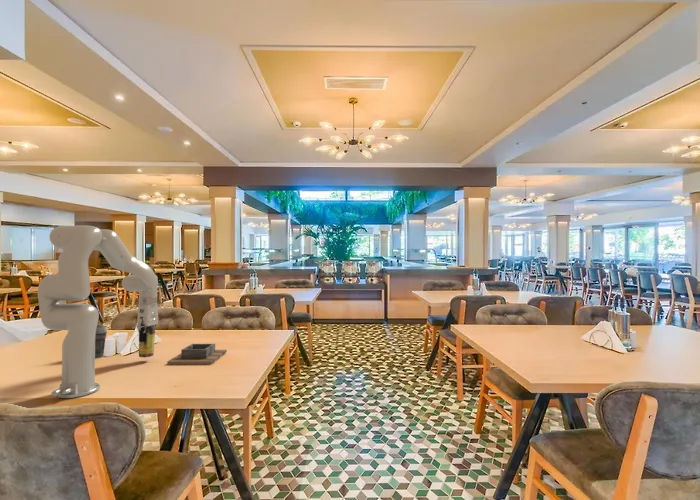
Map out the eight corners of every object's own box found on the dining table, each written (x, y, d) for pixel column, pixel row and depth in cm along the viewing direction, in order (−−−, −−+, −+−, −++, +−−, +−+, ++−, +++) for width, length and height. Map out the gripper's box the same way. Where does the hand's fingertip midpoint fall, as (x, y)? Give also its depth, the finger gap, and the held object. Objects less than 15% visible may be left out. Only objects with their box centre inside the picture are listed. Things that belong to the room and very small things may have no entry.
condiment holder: (212, 364, 161) (212, 352, 162) (167, 364, 161) (167, 352, 161) (226, 352, 181) (226, 341, 182) (186, 352, 181) (187, 341, 181)
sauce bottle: (135, 357, 165) (136, 313, 166) (148, 354, 170) (149, 312, 171) (144, 358, 162) (145, 314, 163) (157, 355, 167) (158, 312, 168)
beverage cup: (97, 359, 169) (97, 317, 170) (84, 358, 171) (84, 316, 171) (110, 355, 177) (110, 314, 177) (98, 354, 178) (98, 314, 178)
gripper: (145, 303, 159) (144, 344, 158) (165, 299, 176) (164, 336, 175) (128, 303, 159) (127, 344, 158) (149, 299, 176) (148, 336, 175)
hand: (146, 339), depth 166 cm, fingers closed on sauce bottle, 6 cm apart
